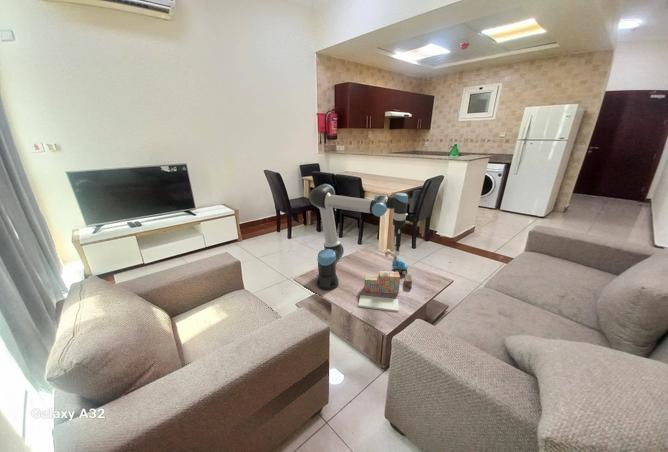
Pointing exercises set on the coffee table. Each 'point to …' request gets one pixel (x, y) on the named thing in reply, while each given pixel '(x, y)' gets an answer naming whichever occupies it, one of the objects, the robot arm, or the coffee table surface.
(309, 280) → the coffee table surface
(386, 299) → the sage board
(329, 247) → the robot arm
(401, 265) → the toy excavator
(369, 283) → the stack of blocks
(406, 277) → the walnut brick
